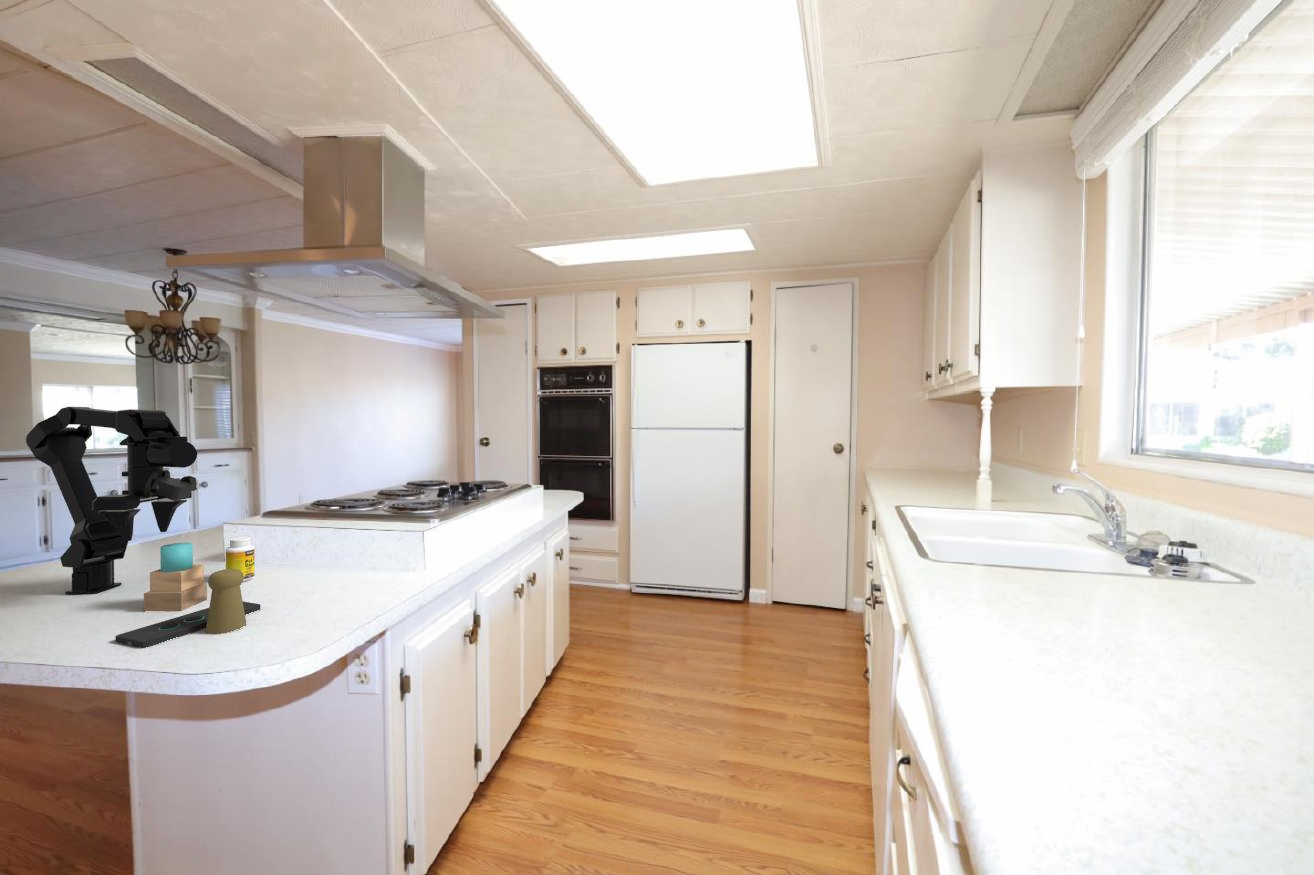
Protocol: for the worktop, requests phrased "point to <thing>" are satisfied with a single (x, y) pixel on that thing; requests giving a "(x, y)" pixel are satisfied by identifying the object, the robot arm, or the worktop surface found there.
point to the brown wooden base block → (175, 599)
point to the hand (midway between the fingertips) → (146, 536)
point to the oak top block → (176, 579)
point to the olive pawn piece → (225, 602)
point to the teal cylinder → (176, 557)
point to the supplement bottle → (241, 556)
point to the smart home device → (172, 628)
